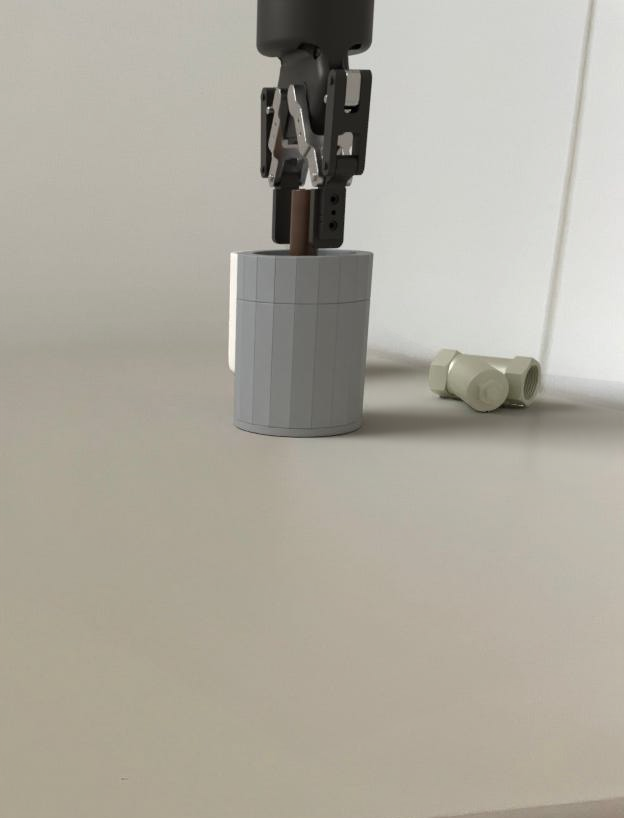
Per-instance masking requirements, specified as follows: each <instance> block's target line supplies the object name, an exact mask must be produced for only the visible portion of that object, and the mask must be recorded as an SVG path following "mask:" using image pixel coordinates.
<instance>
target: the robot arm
mask: <svg viewBox="0 0 624 818" xmlns="http://www.w3.org/2000/svg"><path fill="white" fill-rule="evenodd" d="M374 15H375V0H256V34H255V35H256V37H255V38H256V39H255V41H256V42H255V46H256V50H257V52H258V53H259V54H260V55H261V56H263V57H267V58H277V59H278V60H279V61H280V68H279V76H278V81H277V86H273V87H272V86H271V87H268V86H267V87H262V89H261V92H260V96H259V97H260V167H259V172H260V176H261V178H262V179H267V181H268V186H269V188H273V189H272V207H271V208H272V209H271V210H272V211H271V212H272V215H271V241H272V242H273V243H274V244H276V245H290V226H291V201H292V190H294V189H300V188H303V187H304V186H305V185H306V182H307V181H306V180H307V177H308V173H309V177H310V183H311V186H312V188H310V189H311V199H310V223H309V244H310V246H311V247H312V248H316V249H339V248H341V247H342V246H343V244H344V240H345V238H344V237H345V221H346V204H347V203H346V200H347V188H346V187H350V186H351V185H352V183H353V180H354V179H353V177H354V176H362V175H363V174H364V172H365V167H366V160H367V159H366V157H367V145H368V135H369V134H368V133H369V122H370V110H371V100H372V97H371V96H372V87H373V72H372V70H371V69H356V68H355V69H352V68H350V63H349V62H350V61H349V59H350V58H349V56H356V55H360V54H363V53H365V52H367V51H368V50H369V49H370V48H371V47H372V43H373V35H374V18H375V16H374ZM350 150H351V153H350Z"/></svg>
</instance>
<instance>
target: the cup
mask: <svg viewBox="0 0 624 818" xmlns="http://www.w3.org/2000/svg"><path fill="white" fill-rule="evenodd" d="M253 250H254V251H249V250H242V251H243V252H238V255H237V297H236V339H235V374H234V383H233V384H234V385H233V387H234V388H233V389H234V390H233V425H234V426H235V427H237V428H238V429H240V430H243V431H245V432H249V433H254V434H260V435H265V436H266V435H267V436H275V437H287V438H289V437H290V438H291V437H292V438H315V437H316V438H317V437H328V436H329V437H330V436H337V435H343V434H348V433H350V432H354V431H357V430H359V428H360V427H362V418H363V410H364V395H365V381H366V366H367V352H368V340H369V339H368V337H369V326H370V323H369V322H370V312H371V311H370V310H371V309H370V308H371V294H372V283H373V282H372V281H373V269H374V267H373V266H374V256H375V255H374V252H373V251H367V250H357V249H356V250H355V249H339V248H332V249H318V256H289V250H290V248H285V249H283V248H281V249H275V248H274V249H253Z"/></svg>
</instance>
